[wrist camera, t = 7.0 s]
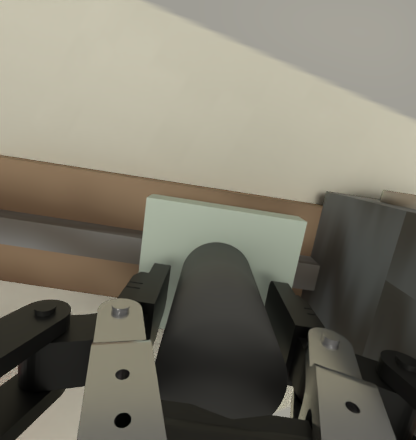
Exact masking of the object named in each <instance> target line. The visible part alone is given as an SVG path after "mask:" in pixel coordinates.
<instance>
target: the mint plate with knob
mask: <svg viewBox="0 0 416 440" xmlns="http://www.w3.org/2000/svg"><path fill="white" fill-rule="evenodd" d="M306 226H307V222H306V221H305V220H303V219H302V218H300V217H298V216H293V215H287V214H280V213H274V212H267V211H261V210H254V209H248V208H241V207H235V206H228V205H222V204H216V203H209V202H203V201H196V200H190V199H183V198H177V197H170V196H164V195H157V194H152V195H150V196H148V197H147V199H146V208H145V217H144V227H143V236H142V245H141V254H140V264H139V272H147V273H149V272H150V270H151V268H152V267H153V265H154V263H159V264H166V265H171V271H170V278H169V286H168V293H167V300H166V306H165V310H164V313H163V317H162V320H161V323H160V326H159V328H160V329H165V330H164V333H163V337H162V340H161V344H160V347H159V351H158V355H157V358H156V362H155V367H156V373H157V380H158V386H159V393H160V399H161V400H168V401H175V402H182V403H189V404H193V405H195V406H198V407H201V408H203V409H206V410H208V411H211V412H214V413H216V414H219V415H222V416H224V417H227V418H230V419H240V418H249V417H258V416H267V415H272V414H273V413H274V412H275V411H276V410H277V408H278V407H279V405H280V404H281V402H282V400H283V398H284V395H285V392H286V387H287V368H286V364H285V361H284V358H283V355H282V353H281V350H280V347H279V344H278V342H277V339H276V336H275V333H274V331H273V328H272V325H271V323H270V320H269V317H268V314H267V312H266V309H265V302H266V297H267V292H268V288H269V284H270V282H271V281H277V282H284V283H288V284H289V285H290V287H291V288H292V286H293V281H294V277H295V273H296V268H297V264H298V260H299V256H300V251H301V247H302V243H303V239H304V234H305V230H306Z"/></svg>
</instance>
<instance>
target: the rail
mask: <svg viewBox="0 0 416 440" xmlns="http://www.w3.org/2000/svg"><path fill="white" fill-rule="evenodd" d="M152 194H157V195H164V196H170V197H177V198H183V199H190V200H196V201H203V202H209V203H216V204H222V205H228V206H235V207H241V208H248V209H254V210H261V211H267V212H274V213H280V214H287V215H293V216H298V217H300V218H302V219H303V220H305V221H306V222H307V226H306V230H305V234H304V239H303V243H302V247H301V251H300V256H299V260H298V264H297V268H296V273H295V277H294V281H293V286H292V290H293V291H294V293H295V295H299V296H300V297H302V298H303V299H304V300H306V301H307V302H308V303H309V305H310V306H311V308H312V310H313V311H314V312H315V314H316V316H318V318H319V319H320V321H321V322H322V324H323V325H324V327H325V328H326V329H329V330H332V331H334V332H336V333H338V334H340V335H342V336H343V337H345V338H346V339H347V340H348V341H349V342H350V343H351V345H352V347H353V350H354V353H355V354H358V355H360V356H363V357H366V358H369V359H372V360H375V361H378V360H379V357H380V354H381V352H382V351H384V350H394V351H398V352H401V353H404V354H406V355H408V356H411V357H413V358H414V359H416V195H412V194H406V193H399V192H393V191H386V190H383V192H382V195H381V199H380V200H379V199H373V198H366V197H360V196H353V195H347V194H341V193H334V192H328V191H326V195H325V199H324V204H323V205H318V204H311V203H305V202H299V201H292V200H286V199H279V198H273V197H266V196H260V195H254V194H247V193H241V192H234V191H228V190H221V189H215V188H209V187H202V186H196V185H189V184H183V183H176V182H170V181H164V180H157V179H151V178H144V177H138V176H131V175H125V174H119V173H112V172H106V171H99V170H93V169H87V168H80V167H74V166H67V165H61V164H54V163H48V162H42V161H35V160H29V159H22V158H16V157H9V156H3V155H0V280H2V281H9V282H16V283H23V284H29V285H36V286H43V287H50V288H56V289H63V290H70V291H77V292H84V293H90V294H97V295H104V296H111V297H117V298H118V296H119V295H120V293H121V292H122V290H123V289H124V288H125V287H126V285H127V283H128V282H129V280H130V279H131V278H132V276H133V275H135V274H137V273H139V264H140V254H141V245H142V236H143V227H144V217H145V208H146V199H147V197H148V196H150V195H152ZM414 435H415V436H416V430H415V433H414Z"/></svg>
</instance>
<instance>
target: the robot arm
mask: <svg viewBox="0 0 416 440" xmlns="http://www.w3.org/2000/svg"><path fill="white" fill-rule="evenodd" d="M170 271H171V265H166V264H159V263H154V265H153V267H152V268H151V270H150V272H149V273H147V272H139V273H137V274H135V275H133V276H132V278H131V279H130V280H129V282H128V283H127V285H126V287H125V288H124V289H123V290H122V292H121V293H120V295H119V296H118V298H117V299H112V300H108V301H106V302H104V303H102V304H101V305H100V306H99V308H98V313H95V314H88V315H71V307H70V305H69V304H67V303H66V302H63V301H60V300H42V301H37V302H34V303H31V304H28V305H26V306H24V307H22V308H20V309H18V310H16V311H14V312H12V313H10V314H8V315H6V316H4V317H2V318H0V378H1V377H2V376H3V375H5V374H6V373H8V372H9V371H10V370H12V369H13V368H15V367H16V366H18V374H17V375H15V376H14V377H13V378H11V379H10V380H8V381H7V382H6V383H4V384H3V385H2V386H0V440H15V439H16V438H17V437H18V436H19V435H21V434H22V433H23V432H24V431H25V430H26V429H27V428H28V427H29V426H30V425H31V424H32V423H33V422H34V421H35V420H36V419H37V418H38V417H39V416H40V415H41V414H42V413H43V412H44V411H45V410H46V409H48V408H49V407H50V406H51V405H52V404H53V403H54V402H55V401H56V400H57V399H58V398H59V397H60V396H61V395H62V394H63V392H64V391H65V389H66V388H74V387H82V386H85V390H84V396H83V403H82V410H81V416H80V423H79V429H78V436H77V440H416V436H415V435H414V433H415V430H416V359H414V358H413V357H411V356H408V355H406V354H404V353H401V352H398V351H394V350H384V351H382V352H381V354H380V357H379V360H378V361H375V360H372V359H369V358H366V357H363V356H360V355H358V354H355V353H354V350H353V347H352V345H351V343H350V342H349V341H348V340H347V339H346V338H345V337H343V336H342V335H340V334H338V333H336V332H334V331H332V330H329V329H326V328H325V327H324V325H323V324H322V322H321V321H320V319H319V318H318V316H316V314H315V312H314V311H313V310H312V308H311V306H310V305H309V303H308V302H307V301H306V300H304V299H303V298H302V297H300V296H299V295H295V293H294V291H293V290H292V288H291V287H290V285H289V284H288V283H284V282H277V281H271V282H270V284H269V288H268V292H267V297H266V302H265V309H266V312H267V314H268V317H269V320H270V323H271V325H272V328H273V331H274V333H275V336H276V339H277V342H278V344H279V347H280V350H281V353H282V355H283V358H284V361H285V364H286V368H287V385H289V386H293V387H294V390H293V394H292V398H291V412H290V418H287V417H280V416H273V415H267V416H258V417H249V418H240V419H230V418H227V417H224V416H222V415H219V414H216V413H214V412H211V411H208V410H206V409H203V408H201V407H198V406H195V405H193V404H189V403H182V402H175V401H168V400H161V399H160V393H159V386H158V380H157V373H156V367H155V361H154V354H153V344H154V341H155V338H156V335H157V332H158V329H159V326H160V323H161V320H162V317H163V313H164V310H165V306H166V300H167V293H168V286H169V278H170Z"/></svg>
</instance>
